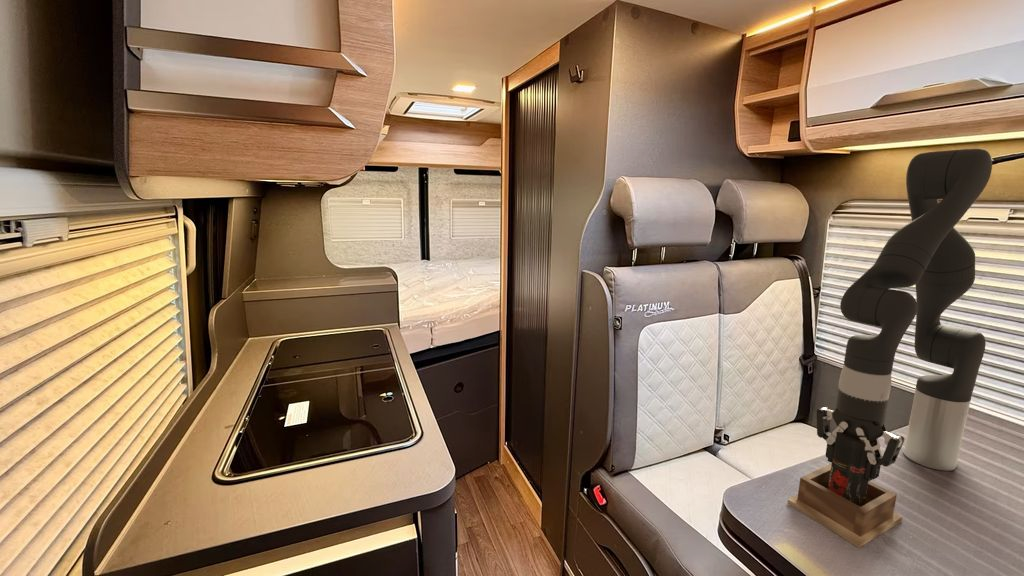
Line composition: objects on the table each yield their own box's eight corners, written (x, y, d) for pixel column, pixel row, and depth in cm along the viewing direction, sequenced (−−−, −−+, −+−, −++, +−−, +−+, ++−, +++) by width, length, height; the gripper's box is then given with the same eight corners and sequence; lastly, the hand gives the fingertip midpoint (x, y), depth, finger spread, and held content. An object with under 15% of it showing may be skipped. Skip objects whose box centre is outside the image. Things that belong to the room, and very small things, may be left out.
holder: (829, 483, 96) (833, 458, 94) (901, 521, 84) (906, 494, 83) (787, 503, 89) (790, 477, 88) (859, 547, 78) (864, 519, 77)
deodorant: (870, 515, 83) (882, 445, 80) (835, 511, 84) (846, 442, 81) (853, 495, 89) (864, 429, 86) (820, 491, 90) (830, 426, 87)
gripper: (921, 402, 77) (904, 485, 80) (833, 373, 90) (822, 446, 93) (899, 411, 74) (883, 497, 77) (811, 380, 86) (801, 455, 90)
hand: (850, 469), depth 85 cm, fingers closed on deodorant, 6 cm apart
